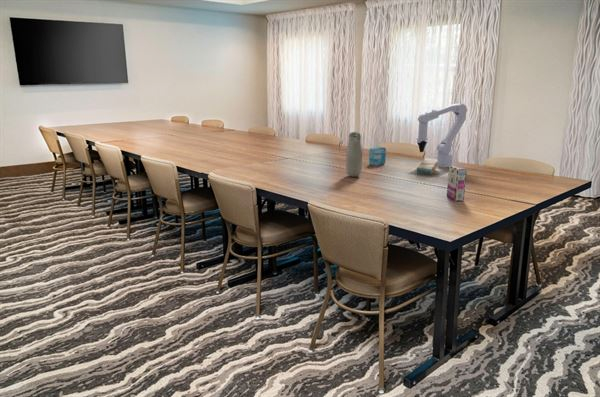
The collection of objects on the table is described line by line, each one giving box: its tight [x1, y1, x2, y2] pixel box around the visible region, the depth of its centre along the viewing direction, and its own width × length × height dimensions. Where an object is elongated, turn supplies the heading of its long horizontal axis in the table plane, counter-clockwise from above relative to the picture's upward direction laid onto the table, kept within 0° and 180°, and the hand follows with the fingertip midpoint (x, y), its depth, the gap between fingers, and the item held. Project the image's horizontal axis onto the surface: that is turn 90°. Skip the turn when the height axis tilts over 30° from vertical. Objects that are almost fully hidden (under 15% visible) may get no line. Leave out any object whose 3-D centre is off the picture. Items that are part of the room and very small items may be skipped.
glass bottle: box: [345, 131, 364, 178], centre depth 289 cm, size 10×10×28 cm
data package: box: [368, 146, 387, 166], centre depth 330 cm, size 12×4×12 cm, turn 125°
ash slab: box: [416, 160, 438, 175], centre depth 297 cm, size 4×9×12 cm
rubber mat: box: [407, 169, 448, 178], centre depth 300 cm, size 21×20×2 cm
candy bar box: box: [446, 165, 467, 202], centre depth 237 cm, size 11×5×16 cm, turn 5°
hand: (421, 152), depth 319 cm, fingers closed
